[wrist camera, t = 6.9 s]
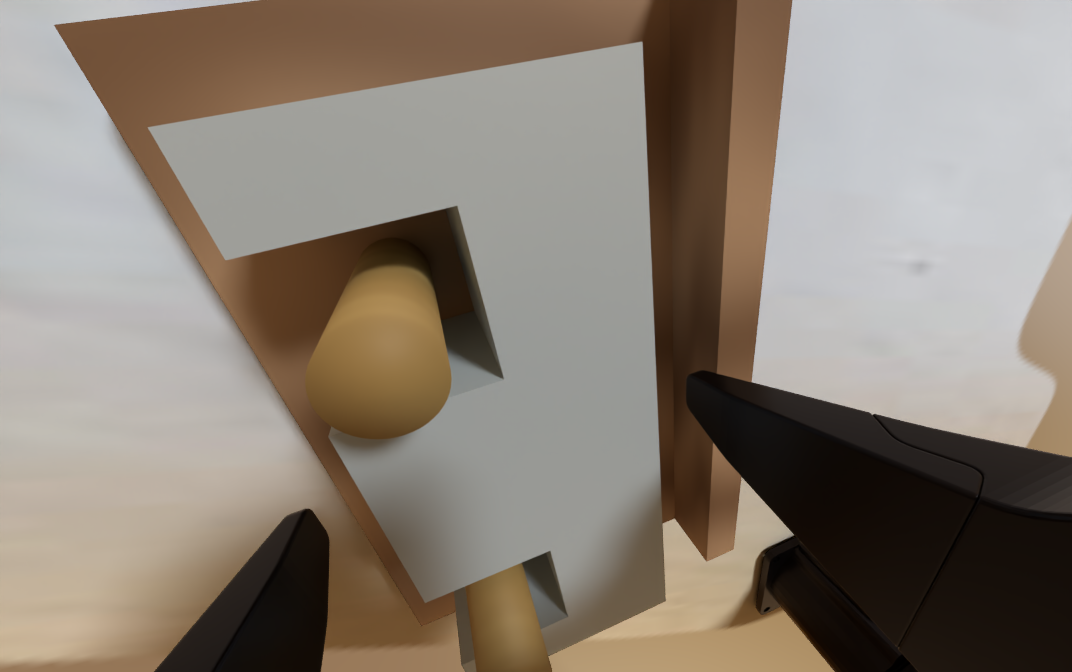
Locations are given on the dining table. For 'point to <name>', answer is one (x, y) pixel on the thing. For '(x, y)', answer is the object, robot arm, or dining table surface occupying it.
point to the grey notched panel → (488, 314)
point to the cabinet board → (427, 240)
